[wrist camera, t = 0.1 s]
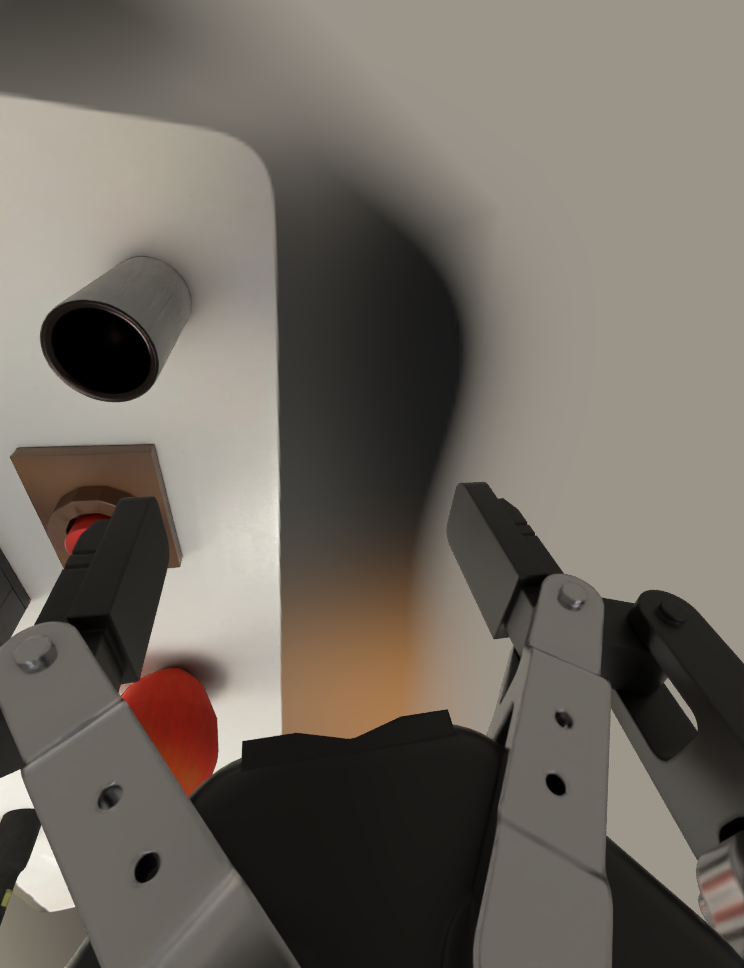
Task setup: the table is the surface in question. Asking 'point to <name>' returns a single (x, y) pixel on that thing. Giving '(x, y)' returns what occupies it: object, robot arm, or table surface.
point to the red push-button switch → (90, 486)
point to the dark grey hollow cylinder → (117, 330)
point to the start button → (81, 528)
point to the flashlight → (15, 849)
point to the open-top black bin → (10, 600)
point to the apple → (177, 723)
